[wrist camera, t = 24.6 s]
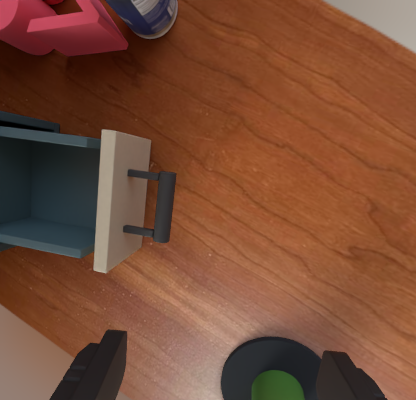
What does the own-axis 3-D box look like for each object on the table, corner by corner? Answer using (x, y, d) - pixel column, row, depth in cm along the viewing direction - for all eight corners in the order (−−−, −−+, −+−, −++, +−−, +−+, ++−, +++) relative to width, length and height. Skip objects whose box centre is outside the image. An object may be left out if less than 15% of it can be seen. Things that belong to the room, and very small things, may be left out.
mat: (322, 448, 28) (323, 454, 27) (215, 417, 29) (214, 423, 29) (345, 351, 26) (347, 355, 25) (229, 325, 28) (228, 328, 27)
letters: (147, -3, 25) (121, -45, 20) (108, 96, 27) (75, 80, 22) (30, -60, 26) (-22, -112, 21) (0, 39, 28) (-53, 12, 23)
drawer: (191, 144, 25) (169, 137, 18) (179, 254, 27) (154, 283, 20) (34, 125, 27) (-35, 113, 21) (32, 226, 29) (-32, 244, 23)
